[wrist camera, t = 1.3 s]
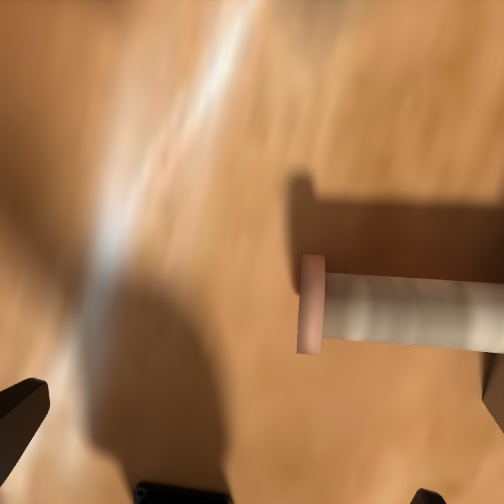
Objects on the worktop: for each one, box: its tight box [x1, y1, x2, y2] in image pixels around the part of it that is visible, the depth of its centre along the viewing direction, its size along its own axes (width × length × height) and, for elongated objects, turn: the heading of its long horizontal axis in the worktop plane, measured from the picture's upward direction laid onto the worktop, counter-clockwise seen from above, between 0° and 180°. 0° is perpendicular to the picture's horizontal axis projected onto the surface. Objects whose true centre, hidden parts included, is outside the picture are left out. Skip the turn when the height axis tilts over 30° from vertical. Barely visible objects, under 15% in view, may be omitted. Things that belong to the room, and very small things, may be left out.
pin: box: [297, 254, 504, 356], centre depth 17 cm, size 13×5×5 cm, turn 89°
